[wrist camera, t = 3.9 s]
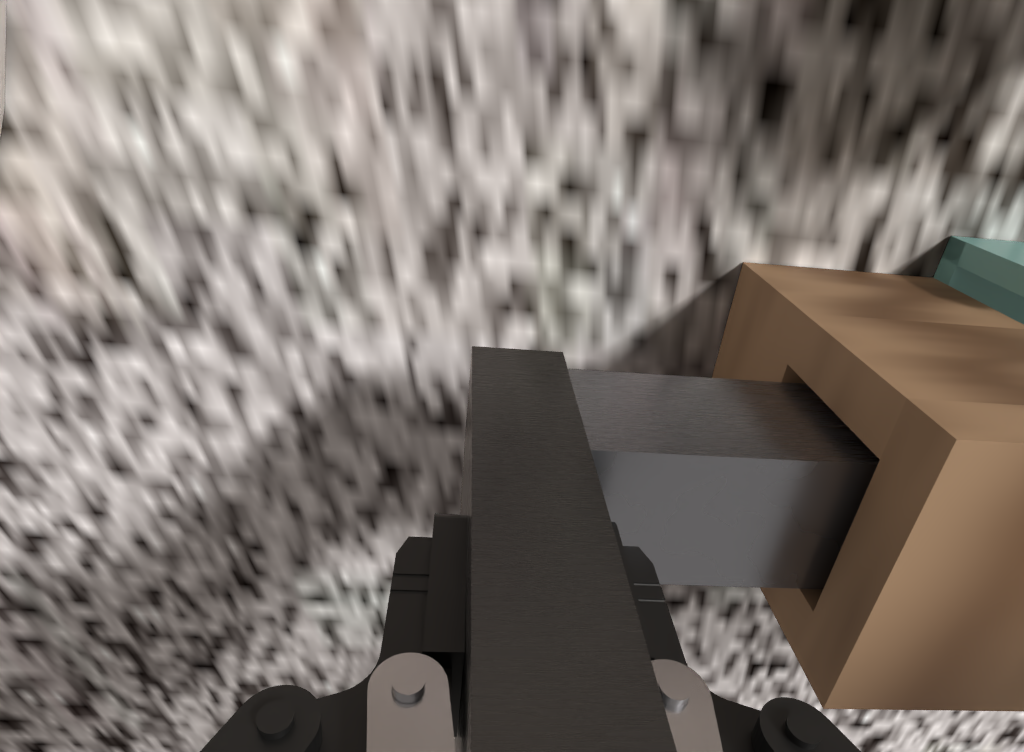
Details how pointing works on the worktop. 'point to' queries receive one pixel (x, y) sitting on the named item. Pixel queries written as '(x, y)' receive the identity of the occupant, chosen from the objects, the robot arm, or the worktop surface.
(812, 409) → the grey l-shaped block
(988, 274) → the tray
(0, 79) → the pan
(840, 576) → the block
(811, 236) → the worktop surface
